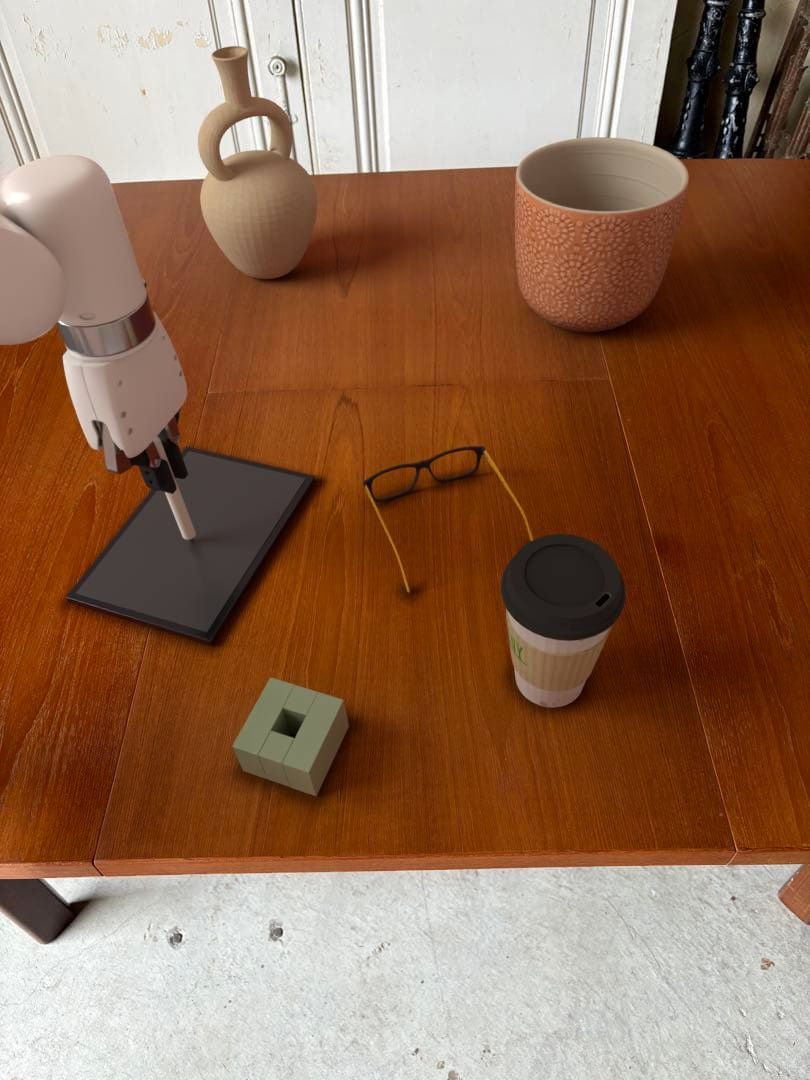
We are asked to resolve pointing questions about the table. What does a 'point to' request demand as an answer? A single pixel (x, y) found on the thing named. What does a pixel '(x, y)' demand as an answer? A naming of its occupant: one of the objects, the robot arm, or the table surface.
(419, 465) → the eyeglasses
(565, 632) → the coffee cup
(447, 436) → the table surface
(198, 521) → the tablet
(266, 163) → the vase
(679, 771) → the table surface
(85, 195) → the robot arm
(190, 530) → the stylus
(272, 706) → the stylus holder
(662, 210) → the planter
